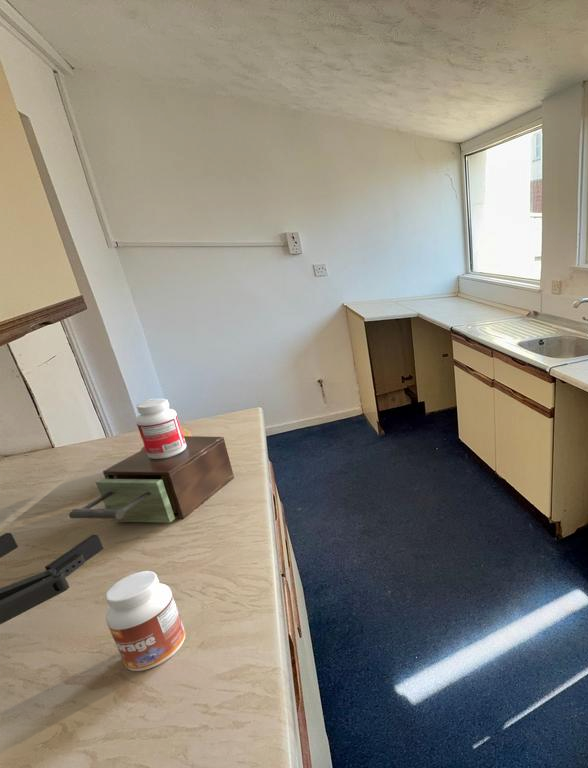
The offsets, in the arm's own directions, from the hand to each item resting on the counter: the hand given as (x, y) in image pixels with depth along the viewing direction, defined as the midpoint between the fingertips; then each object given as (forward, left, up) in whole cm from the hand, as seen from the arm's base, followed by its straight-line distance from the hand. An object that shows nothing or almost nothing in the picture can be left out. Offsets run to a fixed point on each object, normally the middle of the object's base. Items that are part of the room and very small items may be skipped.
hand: (55, 540), depth 61 cm
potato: (-13, +36, -8) cm, 39 cm away
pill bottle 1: (0, +22, +3) cm, 22 cm away
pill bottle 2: (+24, -11, -8) cm, 28 cm away
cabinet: (0, +22, -7) cm, 23 cm away
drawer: (0, +16, -7) cm, 17 cm away
